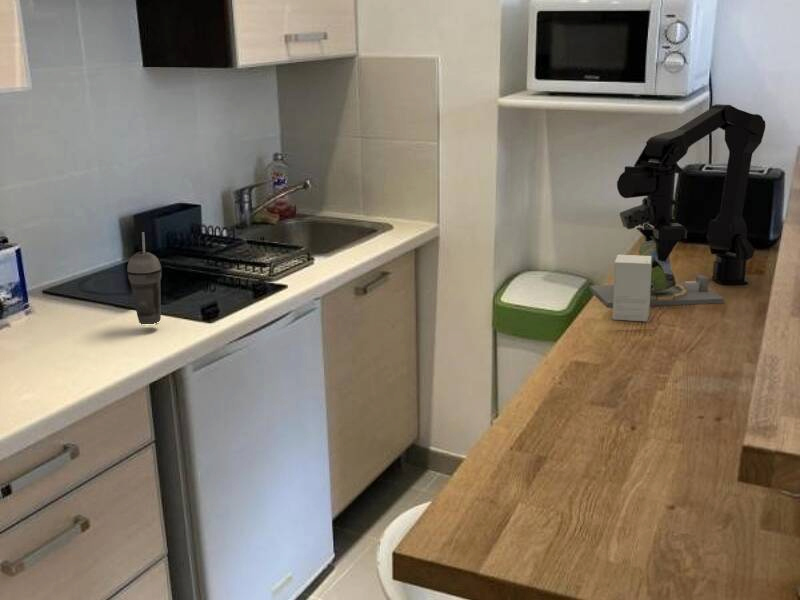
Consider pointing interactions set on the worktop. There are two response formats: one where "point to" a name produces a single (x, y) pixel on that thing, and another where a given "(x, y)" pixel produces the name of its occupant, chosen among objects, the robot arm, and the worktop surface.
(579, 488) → the worktop surface
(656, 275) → the beverage can
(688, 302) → the base
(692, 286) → the tan curved band
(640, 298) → the supplement box
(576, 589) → the worktop surface
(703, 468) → the worktop surface
